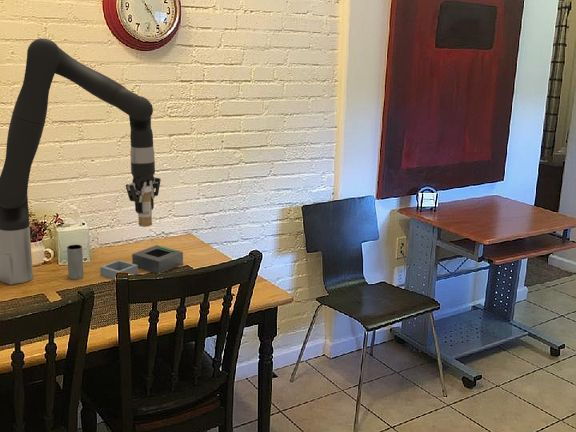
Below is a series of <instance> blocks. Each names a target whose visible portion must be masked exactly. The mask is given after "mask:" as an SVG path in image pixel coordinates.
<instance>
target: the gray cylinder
mask: <svg viewBox="0 0 576 432" xmlns="http://www.w3.org/2000/svg"><path fill="white" fill-rule="evenodd" d="M66 248H67V249H66V253H67V271H68V272H67V274H68V279H70V280H74V281H75V280H76V281H77V280H81V279H83V278H84V262H83V259H84V258H83V246H82V245H81V244H70V245H68V246H67V247H66Z"/></svg>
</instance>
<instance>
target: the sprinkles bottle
mask: <svg viewBox="0 0 576 432" xmlns="http://www.w3.org/2000/svg"><path fill="white" fill-rule="evenodd" d="M137 192H139V193H140V192H141V191H137ZM138 198H139V195H138ZM142 211H143V212H142V213H141V214H139V213H137V215H138V227H142V228H146V227H151V226H153V222H152V221H153V217H152V216H153V215H152V214H153V213H152V212H153V210H152V207H151V186H149V185H148V186H146V187H145V188H144V195H143V197H142Z"/></svg>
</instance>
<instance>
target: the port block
mask: <svg viewBox="0 0 576 432" xmlns="http://www.w3.org/2000/svg"><path fill="white" fill-rule="evenodd" d="M131 260H132V264H136V265H138V270H143V271H146V272H150V273H153V274H156V273H159V272H163V271H166V272H169V271H171V270H173V269H176V268H177V267H180V266H182V265H184V252H183V251H180V250H177V249H173V248H170V247H165V246H161V245H158V244H156V245H153V246H150V247H148V248H145V249H142V250H140V251H137V252H134V253H131ZM170 269H171V270H170Z"/></svg>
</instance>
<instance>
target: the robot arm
mask: <svg viewBox="0 0 576 432" xmlns="http://www.w3.org/2000/svg"><path fill="white" fill-rule="evenodd" d="M55 74H56V75H58V76H61V77H62V78H64V79H67V80H69V81H71V82H72V83H74V84H76V85H77V86H79V87H80V88H81V89H84V90H85V91H86V92H88V93H89V94H91V95H93V97H96V98H98V99H99V100H101V101H103V102H105V103H107V104H108V105H110V106H113V107H115V108H117V109H119V110H120V111H121V112H123V113H124V114H126V115H127V116H128V118H129V125H130V126H129V128H130V134H129V135H130V136H129V137H130V154H129V155H130V174H131V175H132V177H133V178H132V181H131V183H126V184H125V188H126V192H127V196H128V199H129V201H131V202H134V207H135V209H134V210H135V212H136V214H138V213H139V214H141V213H142V212H143V211H142V197H143V195H144V188H145V187H146V186H148V185H149V186H151V207H152V211H153V210H154V207H155V205H154V204H155V203H154V200H155V197H158V195H159V192H160V188H161V187H160V186H161V178H160V177H156V176H154V175H155V174H156V163H155V162H156V161H155V160H156V159H155V149H154V133H153V129H152V116H153V113H154V107H153V104H152V103H151V102H150V100H148V99H147V98H146V97H144V96H141V95H138V94H137V93H134V92H133V91H131V90H129V89H128V88H126V87H125V85H122V84H121V83H119V82H117V81H115V80H113V79H112V78H111V77H109V76H106V75H104V74H102V73H101V72H99V71H96V70H95V69H93V68H91V67H88V66H87V65H85V64H83V63H81V62H80V61H78V60H77V59H75V58H73V57H72V56H70V55H69V54H68V53H66V52H65V51H64V50H62V48H61V47H59V46H58V45H57V43H56V42H54V41H53V40H50V39H49V38H36V39H35V40H34V41H32V42H31V43H30V44H29V45H28V48H27V52H26V62H25V70H24V77H23V82H22V85H21V88H20V91H19V93H18V96H17V99H16V101H15V105H14V107H13V110H12V114H11V117H10V118H11V119H10V122H9V127H8V132H7V140H6V149H5V159H4V165H3V167H2V170H1V173H0V282H2V283H3V284H4V283H5V284H7V285H11V286H12V285H15V284H16V285H17V284H23V283H27V282H29V281H31V280H32V279H34V273H33V272H34V271H33V258H32V256H33V255H32V244H31V227H30V214H29V213H30V212H29V211H30V210H29V199H28V196H29V195H28V189H29V180H30V174H31V170H32V165H33V162H34V158H36V154H37V151H38V149H39V145H40V142H41V138H42V136H43V132H44V128H45V124H46V120H47V114H48V113H47V112H48V106H49V105H48V104H49V95H50V89H51V85H52V83H53V81H54V77H55ZM137 191H141V192H140V193H139V192H137ZM138 195H139V198H138Z"/></svg>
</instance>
